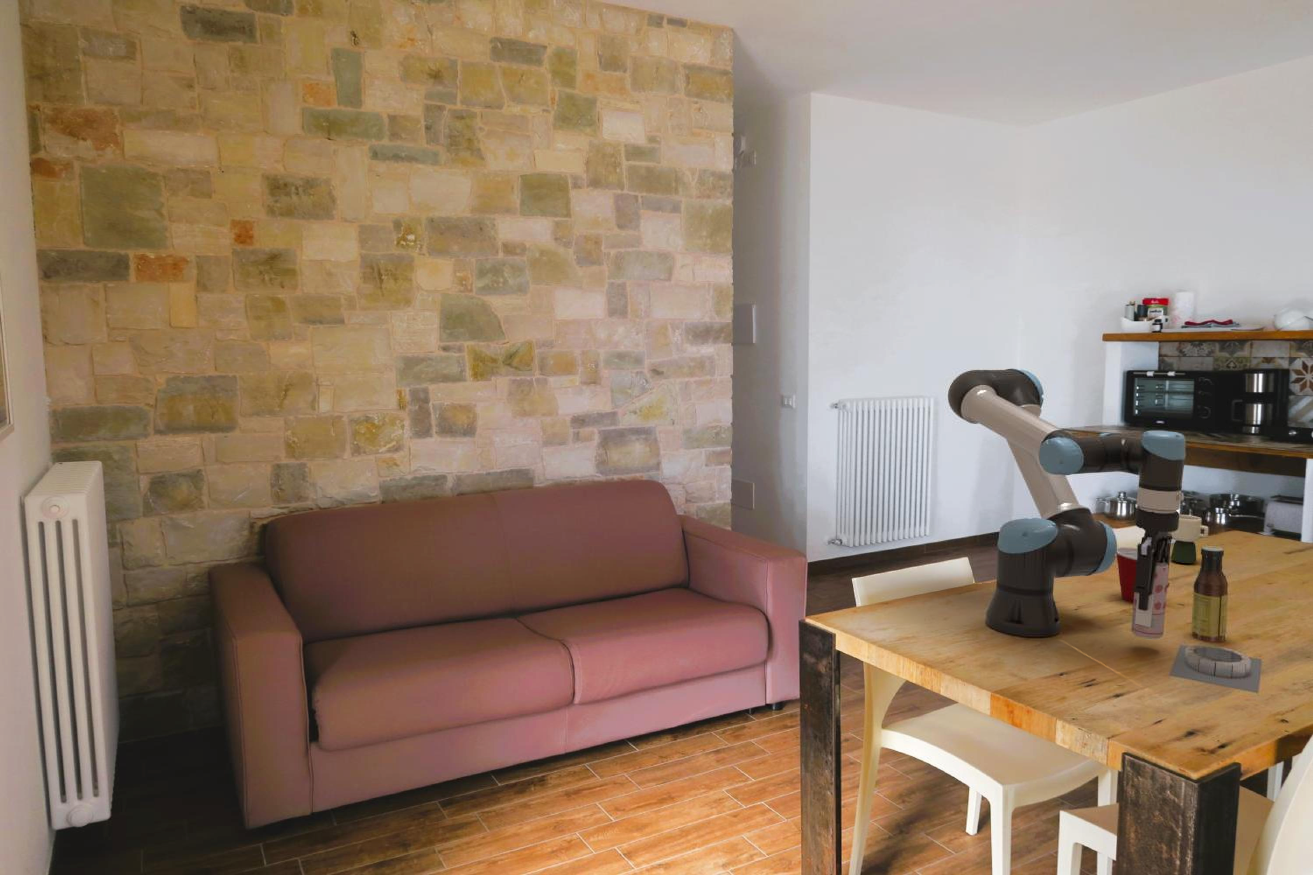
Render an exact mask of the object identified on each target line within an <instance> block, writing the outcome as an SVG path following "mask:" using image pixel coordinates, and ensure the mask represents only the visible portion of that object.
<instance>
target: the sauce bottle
mask: <svg viewBox="0 0 1313 875" xmlns="http://www.w3.org/2000/svg"><path fill="white" fill-rule="evenodd" d="M1200 555H1201V564H1200V569H1199V570H1198V574H1197V577H1196V579H1195V581H1194V582H1193V586H1192V589H1193V590H1192V611H1191V612H1192V614H1191V632H1192V633H1191V635H1192V637H1193V638H1195V639H1197V640H1200V641H1203V642H1210V643H1222V642H1225V641H1226V634H1227V624H1228V623H1227V621H1228V620H1227V618H1228V601H1229V600H1228V599H1229V596H1228V595H1229V593H1228V588H1229V587H1228V586H1229V584H1228V580H1227V577H1226V575H1225V574H1224V572H1223V557H1224V555H1225V553H1224V548H1221V547H1219V546H1210V545H1209V546H1207V545H1205V546H1202V547H1201V548H1200Z"/></svg>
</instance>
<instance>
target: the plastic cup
mask: <svg viewBox="0 0 1313 875" xmlns="http://www.w3.org/2000/svg"><path fill="white" fill-rule="evenodd" d="M1115 556H1116V560H1117V561H1116V562H1117V566H1118V578H1119V586H1120V595H1121V598H1122V600H1123V601H1125V602H1128V603H1132V604H1134V593H1135V592H1133V589H1134V585H1135V575H1136V565H1137V547H1130V546H1119V547H1118V546H1117V553H1116V554H1115Z"/></svg>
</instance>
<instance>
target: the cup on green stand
mask: <svg viewBox="0 0 1313 875" xmlns="http://www.w3.org/2000/svg"><path fill="white" fill-rule="evenodd" d="M1202 521H1203V520H1202V517H1199V516H1196V515H1189V514H1179V525H1178V529H1177V530H1176V531H1174V532H1169V533H1170V535H1172V540H1175V541H1174V544H1173V547H1172V550H1171V554H1170V559H1171V560H1172V561H1175V562H1177V563H1183V564H1191V563H1197V546H1196V543H1195V542H1199V540H1200V539H1201V538H1202V539H1203V538H1204V539H1206V538H1208V536H1209V526H1207V525H1203V524H1202ZM1202 530H1204V531H1203V532H1204V533H1201V531H1202Z"/></svg>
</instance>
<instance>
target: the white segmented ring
mask: <svg viewBox="0 0 1313 875" xmlns="http://www.w3.org/2000/svg"><path fill="white" fill-rule="evenodd" d="M1188 646H1189V645H1188ZM1249 657H1250V656H1248V654H1244V653H1242V652H1241V651H1237V650H1235V649H1231V648H1227V647H1222V646H1220V645H1219V646H1217V645H1212V644H1211V645H1210V644H1195V645H1193V644H1192V645H1190V646H1189V647H1188V648H1186V649H1185V663H1186V665H1187V666H1188V667H1190V668H1192V669H1194V670H1196V671H1199V672H1202V673H1206V674H1210V675H1213V676H1214V675H1215V676H1220V677H1229V678H1237V677H1245V676H1247V675H1248V674H1250V665H1251V660H1250V659H1249ZM1214 660H1218V661H1214ZM1220 661H1222V662H1220Z"/></svg>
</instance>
